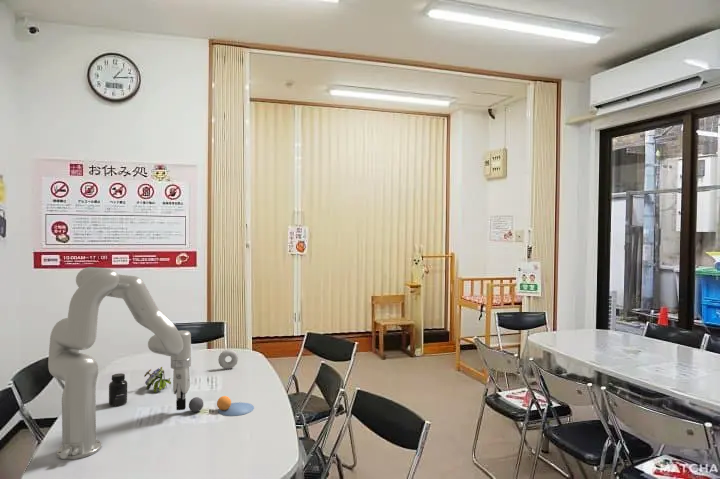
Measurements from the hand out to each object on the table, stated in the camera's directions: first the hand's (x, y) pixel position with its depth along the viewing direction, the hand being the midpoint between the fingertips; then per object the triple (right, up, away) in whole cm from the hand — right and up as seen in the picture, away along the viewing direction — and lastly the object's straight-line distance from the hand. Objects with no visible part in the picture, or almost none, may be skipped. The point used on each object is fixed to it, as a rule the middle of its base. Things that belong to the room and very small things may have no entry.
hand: (181, 409), depth 191 cm
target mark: (+21, -2, +4) cm, 21 cm away
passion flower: (-21, -1, +28) cm, 35 cm away
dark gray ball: (+5, +1, +2) cm, 6 cm away
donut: (+2, 0, +60) cm, 60 cm away
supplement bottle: (-29, -1, +10) cm, 31 cm away
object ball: (+16, +1, +3) cm, 16 cm away
